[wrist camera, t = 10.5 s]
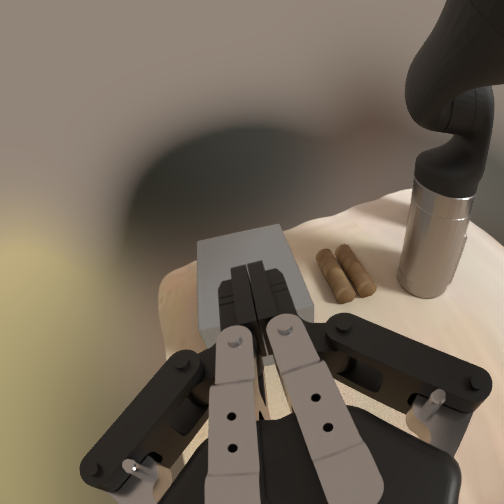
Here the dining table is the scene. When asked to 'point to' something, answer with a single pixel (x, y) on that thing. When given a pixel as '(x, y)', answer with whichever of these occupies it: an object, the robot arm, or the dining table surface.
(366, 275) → the roller
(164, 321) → the dining table surface
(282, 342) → the robot arm
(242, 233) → the grey rectangular block
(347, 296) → the roller
